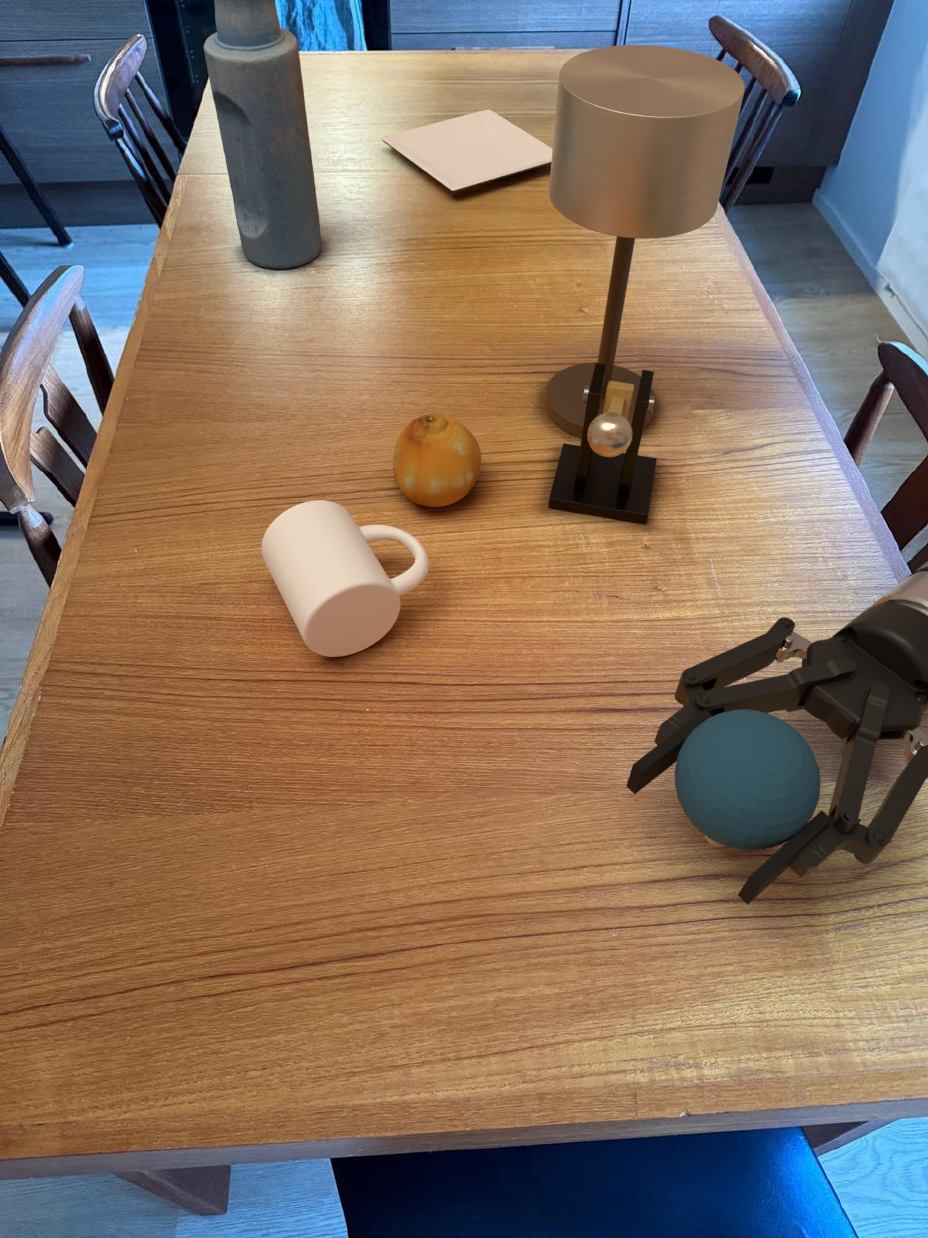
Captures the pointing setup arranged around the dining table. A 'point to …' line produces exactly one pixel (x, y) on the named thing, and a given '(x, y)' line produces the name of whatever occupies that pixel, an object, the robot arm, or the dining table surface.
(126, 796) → the dining table surface
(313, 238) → the bottle
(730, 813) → the dark teal ovoid
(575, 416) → the lamp
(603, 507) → the switch bracket
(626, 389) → the lamp switch
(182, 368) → the dining table surface
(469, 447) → the fruit
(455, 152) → the plate
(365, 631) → the mug
